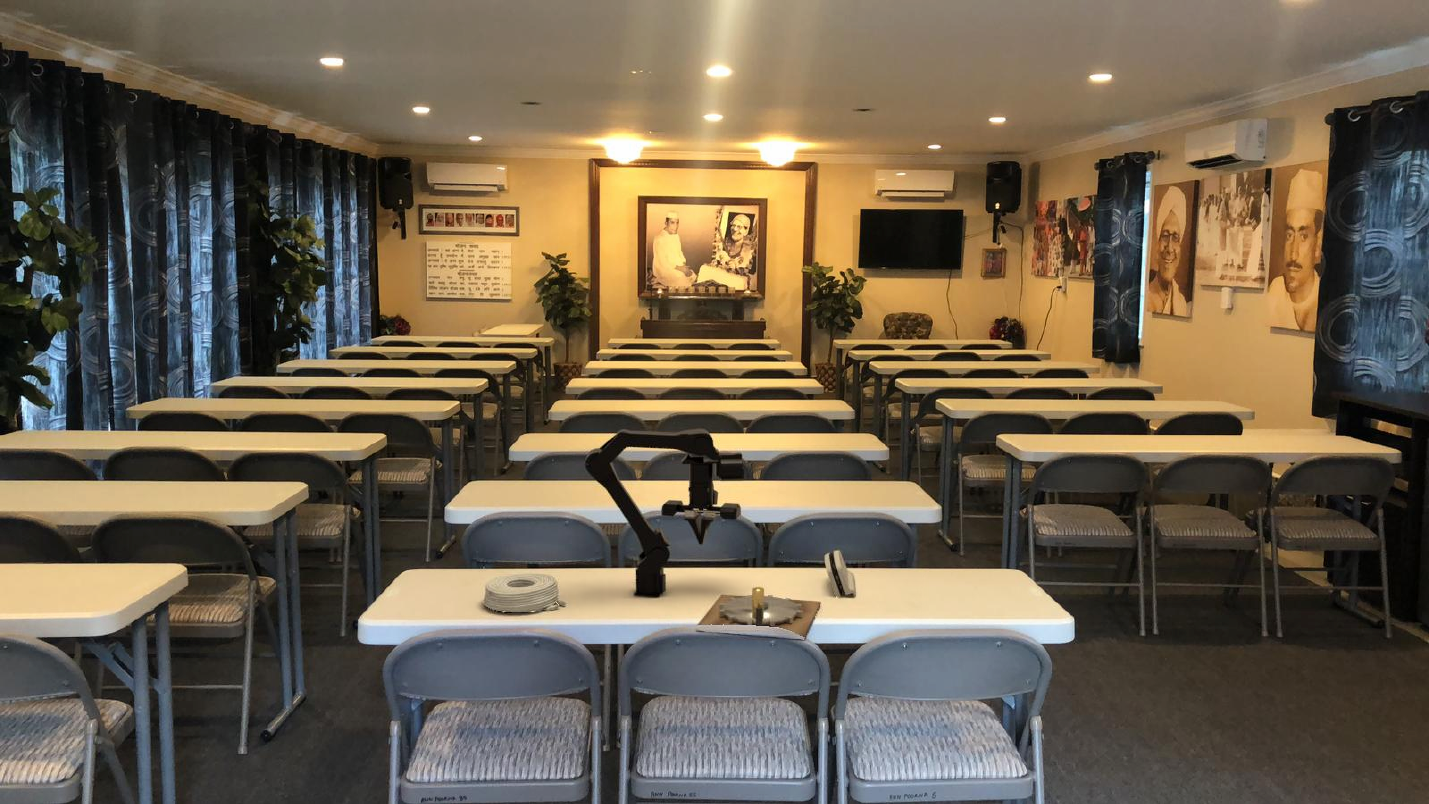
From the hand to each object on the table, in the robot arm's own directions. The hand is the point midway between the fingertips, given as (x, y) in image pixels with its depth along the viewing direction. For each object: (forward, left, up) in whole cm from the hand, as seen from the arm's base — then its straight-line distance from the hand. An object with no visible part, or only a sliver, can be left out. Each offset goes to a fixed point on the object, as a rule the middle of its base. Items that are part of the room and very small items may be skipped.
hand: (701, 544), depth 260 cm
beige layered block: (+33, +11, -12) cm, 37 cm away
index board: (+18, -16, -12) cm, 27 cm away
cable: (-39, -19, -12) cm, 45 cm away
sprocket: (+18, -16, -11) cm, 26 cm away
